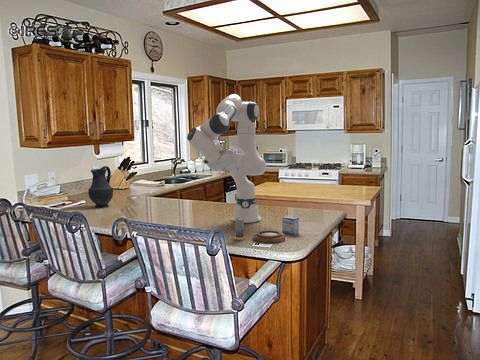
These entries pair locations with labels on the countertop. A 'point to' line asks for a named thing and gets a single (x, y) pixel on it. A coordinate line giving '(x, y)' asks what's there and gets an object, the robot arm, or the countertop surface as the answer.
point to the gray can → (239, 229)
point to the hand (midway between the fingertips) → (234, 170)
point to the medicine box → (290, 225)
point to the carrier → (269, 236)
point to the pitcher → (101, 187)
